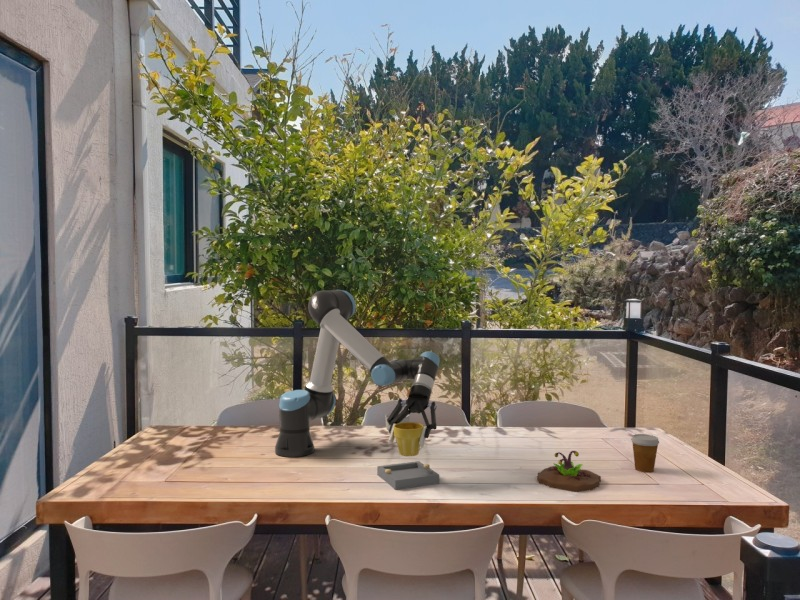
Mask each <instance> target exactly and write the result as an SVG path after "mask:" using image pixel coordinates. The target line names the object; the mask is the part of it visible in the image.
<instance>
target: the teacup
mask: <svg viewBox="0 0 800 600" xmlns="http://www.w3.org/2000/svg"><path fill="white" fill-rule="evenodd" d="M391 413H392V412H389V413H386V414H385V416H384V417H385V427H386V430H387V431H388V432H389V429H390V426H391V425H389V424H388V422H387V419H388V417H389V416H390V414H391ZM403 422H410V414H409V415H407V416H406V417H405V418H404V419H403V420H402V421H401V422H400V423H403Z"/></svg>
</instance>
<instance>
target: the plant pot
mask: <svg viewBox="0 0 800 600" xmlns="http://www.w3.org/2000/svg"><path fill="white" fill-rule="evenodd" d="M423 427H425V426H424V424H423V423H419V422H413V421H412V422H411V421H409V422H403V423H398V424H395V425H394V436H395V439H396V440H395V441H396V445H397V448H398V449H397V450H398V454H399V455H400V456H403V457H415V456H417V455H419V453H420V448H421V447H420V444H419V442H420V438H421V435H422V431H423Z"/></svg>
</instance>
